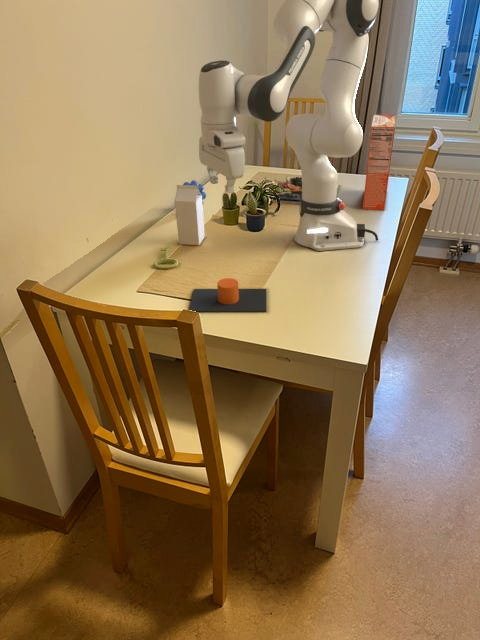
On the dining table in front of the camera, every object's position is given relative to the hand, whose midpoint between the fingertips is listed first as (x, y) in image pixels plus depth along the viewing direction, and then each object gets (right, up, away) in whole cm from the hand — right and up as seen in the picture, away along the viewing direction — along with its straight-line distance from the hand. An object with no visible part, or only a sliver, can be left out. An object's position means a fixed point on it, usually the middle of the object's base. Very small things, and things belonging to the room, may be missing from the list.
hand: (221, 187), depth 134 cm
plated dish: (+28, +18, +77) cm, 84 cm away
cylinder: (+2, -30, 0) cm, 30 cm away
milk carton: (-11, -9, +36) cm, 38 cm away
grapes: (-13, +7, +62) cm, 64 cm away
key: (-18, -17, +22) cm, 33 cm away
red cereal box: (+59, +12, +66) cm, 90 cm away
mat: (+2, -30, 0) cm, 30 cm away
